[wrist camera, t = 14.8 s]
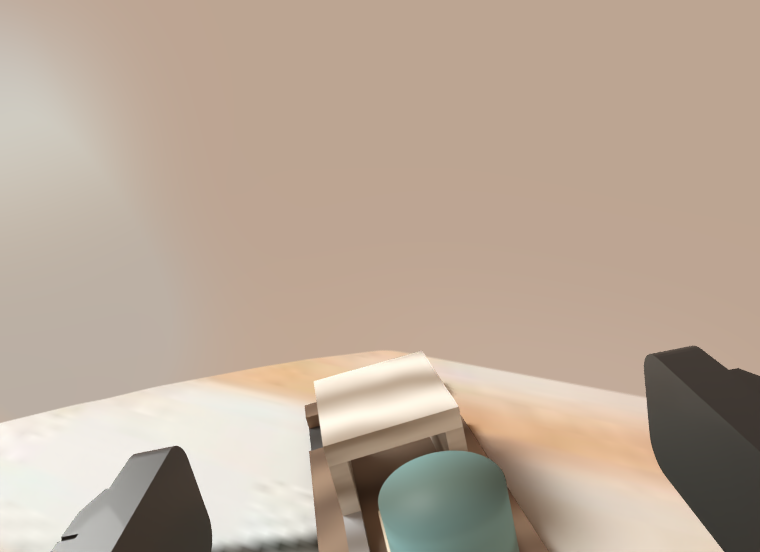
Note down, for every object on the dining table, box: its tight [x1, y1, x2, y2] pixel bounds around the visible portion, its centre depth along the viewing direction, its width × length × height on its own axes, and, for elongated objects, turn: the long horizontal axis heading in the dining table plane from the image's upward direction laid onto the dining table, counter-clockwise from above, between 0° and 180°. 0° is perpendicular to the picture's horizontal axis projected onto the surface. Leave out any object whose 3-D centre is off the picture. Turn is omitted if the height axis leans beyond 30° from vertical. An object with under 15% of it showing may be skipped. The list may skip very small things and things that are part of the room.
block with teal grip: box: [378, 451, 519, 552], centre depth 27 cm, size 16×5×13 cm, turn 9°
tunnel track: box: [305, 351, 549, 552], centre depth 37 cm, size 42×13×8 cm, turn 10°
